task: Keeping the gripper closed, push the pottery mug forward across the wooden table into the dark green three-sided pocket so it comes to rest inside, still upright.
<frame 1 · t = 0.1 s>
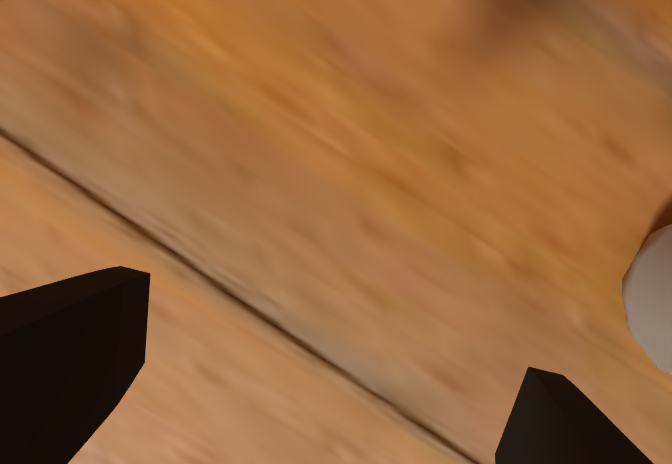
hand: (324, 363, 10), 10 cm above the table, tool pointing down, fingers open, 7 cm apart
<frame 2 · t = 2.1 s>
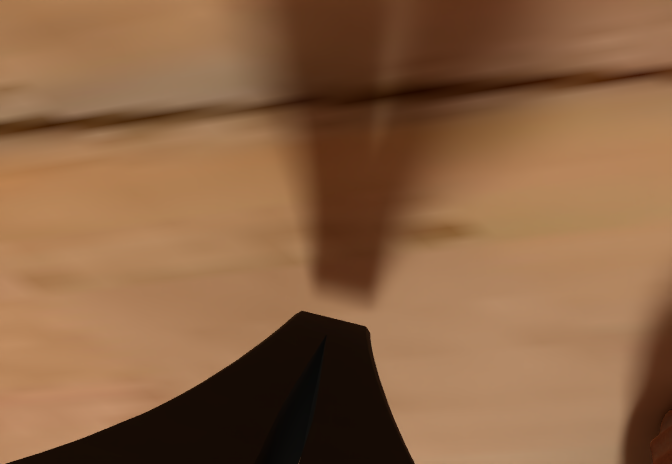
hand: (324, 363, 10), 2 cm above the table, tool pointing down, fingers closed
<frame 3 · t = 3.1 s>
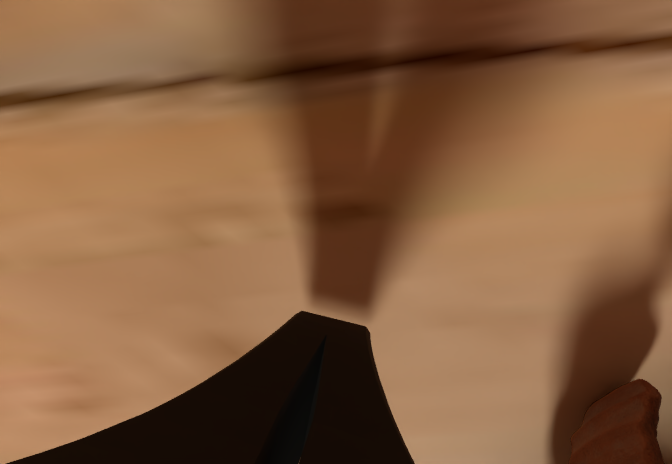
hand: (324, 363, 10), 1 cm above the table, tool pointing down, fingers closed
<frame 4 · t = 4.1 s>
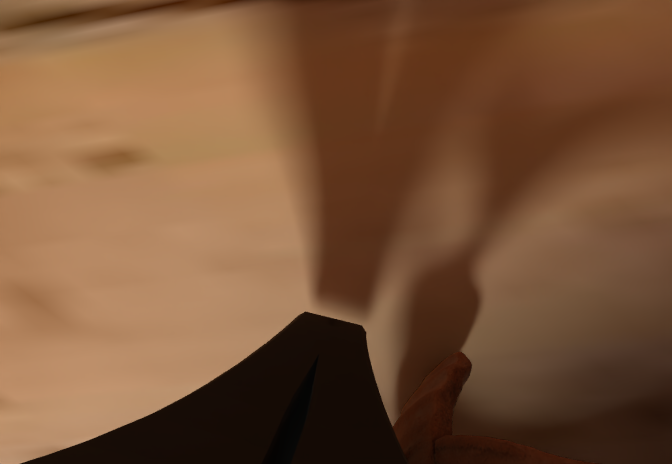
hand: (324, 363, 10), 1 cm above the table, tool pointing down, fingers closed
pottery mug: (641, 437, 11), on the table, touching gripper
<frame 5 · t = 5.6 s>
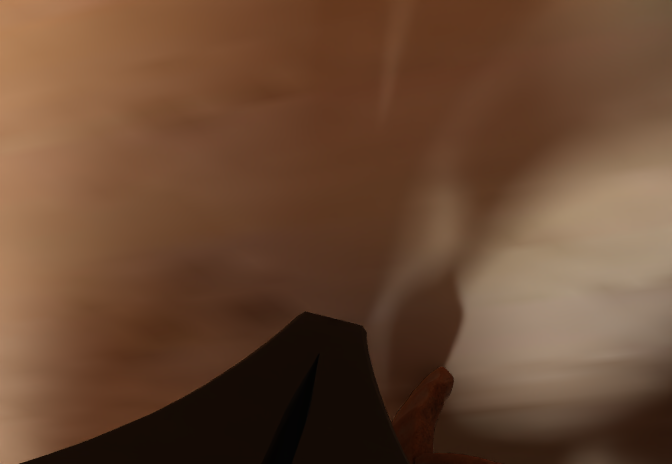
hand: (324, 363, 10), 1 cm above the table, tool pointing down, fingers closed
pottery mug: (630, 442, 11), on the table, touching gripper
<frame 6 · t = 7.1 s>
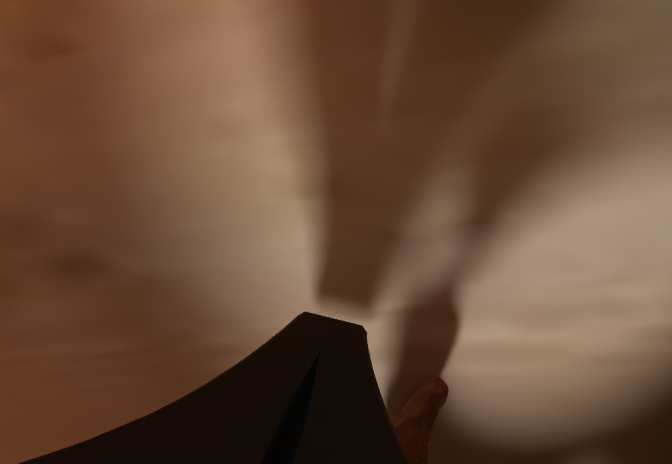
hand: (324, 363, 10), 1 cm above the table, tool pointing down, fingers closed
pottery mug: (624, 450, 11), on the table, touching gripper
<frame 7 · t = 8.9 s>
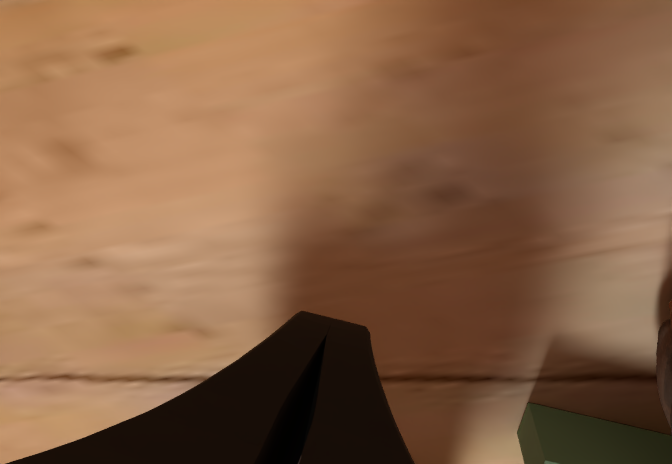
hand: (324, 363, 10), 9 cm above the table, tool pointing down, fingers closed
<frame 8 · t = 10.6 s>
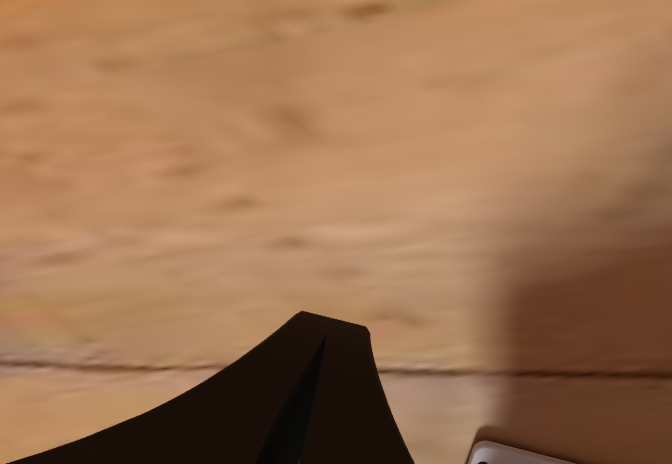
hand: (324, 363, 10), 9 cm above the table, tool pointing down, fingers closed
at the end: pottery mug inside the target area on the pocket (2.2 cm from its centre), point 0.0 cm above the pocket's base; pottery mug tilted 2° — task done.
